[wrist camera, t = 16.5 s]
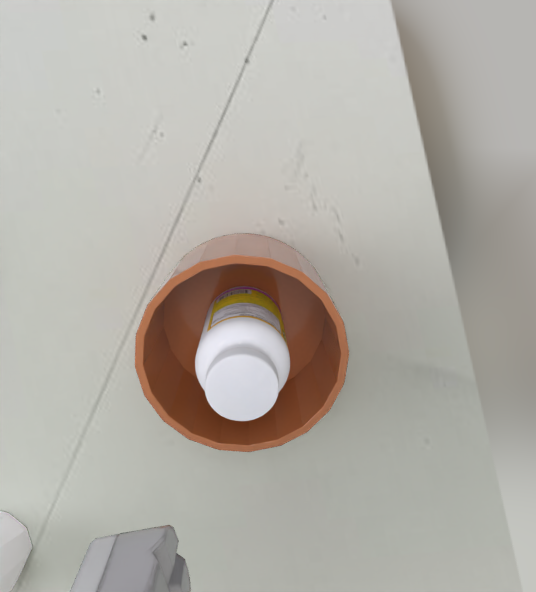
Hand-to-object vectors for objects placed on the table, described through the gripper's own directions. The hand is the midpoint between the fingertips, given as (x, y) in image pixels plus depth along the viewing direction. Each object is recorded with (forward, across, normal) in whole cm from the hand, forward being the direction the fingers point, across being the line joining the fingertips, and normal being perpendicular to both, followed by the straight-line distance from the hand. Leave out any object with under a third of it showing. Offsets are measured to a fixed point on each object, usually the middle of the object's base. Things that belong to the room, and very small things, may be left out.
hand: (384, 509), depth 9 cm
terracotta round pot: (+33, +5, +7) cm, 34 cm away
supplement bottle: (+32, +5, +7) cm, 34 cm away
